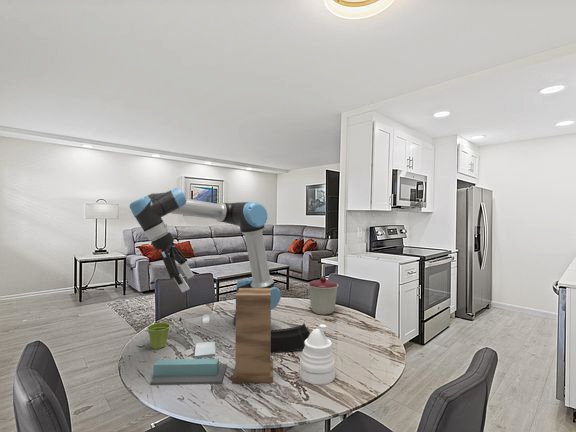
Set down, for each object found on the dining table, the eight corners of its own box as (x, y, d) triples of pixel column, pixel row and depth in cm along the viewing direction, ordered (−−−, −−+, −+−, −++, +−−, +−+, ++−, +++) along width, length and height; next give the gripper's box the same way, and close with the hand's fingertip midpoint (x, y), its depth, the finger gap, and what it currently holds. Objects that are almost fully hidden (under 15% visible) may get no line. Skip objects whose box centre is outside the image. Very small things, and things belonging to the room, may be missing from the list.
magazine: (235, 333, 124) (304, 309, 128) (236, 330, 128) (303, 307, 131) (247, 372, 125) (315, 347, 129) (247, 368, 128) (314, 344, 132)
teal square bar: (158, 370, 110) (158, 359, 110) (218, 369, 111) (218, 358, 111) (153, 376, 106) (153, 364, 106) (216, 375, 107) (216, 364, 107)
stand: (236, 365, 116) (236, 287, 115) (273, 365, 116) (273, 287, 116) (232, 383, 104) (232, 296, 103) (272, 382, 104) (273, 295, 104)
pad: (163, 366, 114) (163, 364, 114) (227, 365, 116) (227, 363, 116) (150, 384, 103) (150, 382, 102) (221, 383, 104) (221, 381, 104)
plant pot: (172, 341, 138) (172, 322, 137) (167, 350, 128) (167, 329, 128) (150, 342, 136) (150, 323, 136) (144, 351, 127) (144, 331, 127)
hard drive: (215, 353, 123) (214, 341, 135) (194, 356, 121) (195, 342, 133) (215, 357, 123) (214, 344, 135) (194, 360, 121) (195, 346, 133)
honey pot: (336, 367, 115) (336, 320, 114) (333, 386, 102) (333, 333, 102) (303, 363, 118) (303, 317, 117) (296, 381, 105) (296, 330, 105)
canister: (321, 305, 192) (321, 272, 192) (344, 312, 179) (344, 276, 179) (301, 311, 180) (301, 276, 180) (324, 319, 167) (324, 281, 166)
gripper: (161, 239, 101) (193, 291, 106) (175, 225, 125) (200, 268, 130) (140, 250, 100) (173, 302, 105) (158, 233, 125) (184, 276, 129)
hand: (188, 283), depth 118 cm, fingers open, 13 cm apart
